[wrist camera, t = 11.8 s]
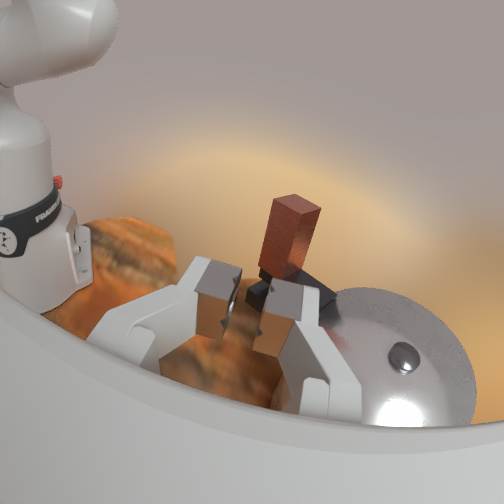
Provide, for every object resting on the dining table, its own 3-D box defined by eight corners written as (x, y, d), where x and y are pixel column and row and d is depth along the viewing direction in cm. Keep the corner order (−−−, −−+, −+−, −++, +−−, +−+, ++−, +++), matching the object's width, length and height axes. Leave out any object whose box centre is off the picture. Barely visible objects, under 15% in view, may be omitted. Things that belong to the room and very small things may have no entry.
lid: (479, 359, 21) (523, 304, 17) (429, 504, 9) (522, 461, 5) (315, 245, 35) (335, 185, 30) (189, 307, 23) (194, 218, 18)
